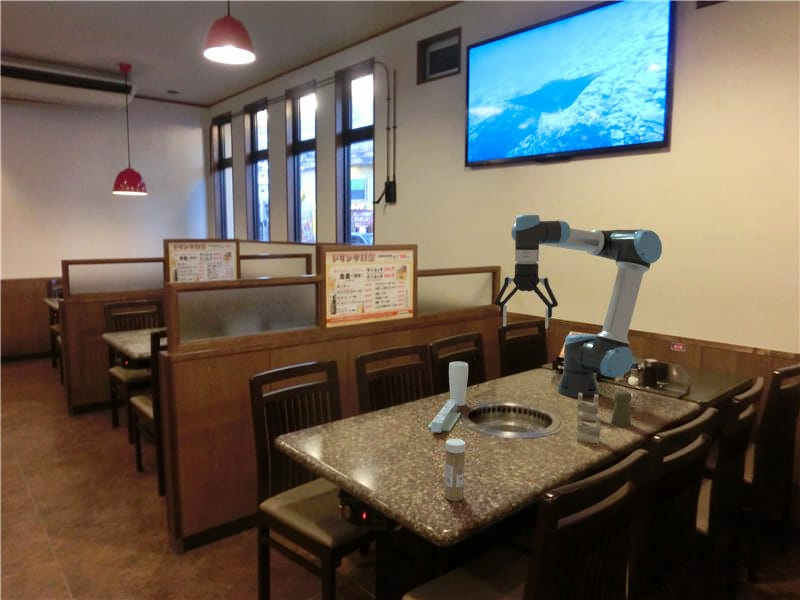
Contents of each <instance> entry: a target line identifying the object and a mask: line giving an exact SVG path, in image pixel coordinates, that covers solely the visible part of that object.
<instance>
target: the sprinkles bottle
mask: <svg viewBox="0 0 800 600" xmlns="http://www.w3.org/2000/svg"><path fill="white" fill-rule="evenodd" d="M465 453H466V441H465V440H463V439H461V438H449V439H447V440H446V441H445V460H446V461H445V470H444V471H445V475H444V476H445V478H444V479H445V480H444V481H445V492H444V497H445V498H446V499H447V500H449V501H453V502H459V501H461V500H463V499H464V498H465V494H464V490H465V487H464V485H465Z"/></svg>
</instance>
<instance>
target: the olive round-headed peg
mask: <svg viewBox="0 0 800 600" xmlns="http://www.w3.org/2000/svg"><path fill="white" fill-rule="evenodd" d="M613 397H614V400H615V404H614V407H613V411H612V412H613V413H612V415H611V420H610V423H611V425H612V424H613V425H612V426H614V425H615V427H619V428H630V427H631V426H632V421H631V408H630V402H631V401H632V394H631V392H630V391H627V390H616V391H615V392H614V395H613Z"/></svg>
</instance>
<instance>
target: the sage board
mask: <svg viewBox="0 0 800 600" xmlns="http://www.w3.org/2000/svg"><path fill="white" fill-rule="evenodd" d="M461 415H462V412H457V411H455V413H454V414H453V416H452V417H451V419H450V420H449V422H448V423H447V424H446V426H445V427H444V429H443V430H442V432H449V433H450V432H451V431H452V429H453V427H454V426H455V425H456V423H457V421H458V420H459V419H460V417H461ZM427 429H429V430H431V422H430V423H429V424H428V425H427Z"/></svg>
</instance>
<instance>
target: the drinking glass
mask: <svg viewBox="0 0 800 600" xmlns="http://www.w3.org/2000/svg"><path fill="white" fill-rule="evenodd" d="M448 378H449V379H448V382H449V397H450V399H451V400H458V406H457V407H463V406H465V404H466V396H467V387H468V386H467V385H468V378H469V364H468V362H465V361H451V362H449V365H448Z"/></svg>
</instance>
